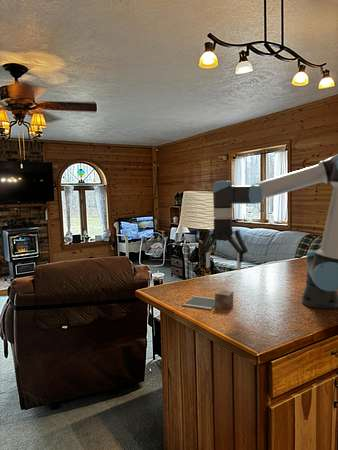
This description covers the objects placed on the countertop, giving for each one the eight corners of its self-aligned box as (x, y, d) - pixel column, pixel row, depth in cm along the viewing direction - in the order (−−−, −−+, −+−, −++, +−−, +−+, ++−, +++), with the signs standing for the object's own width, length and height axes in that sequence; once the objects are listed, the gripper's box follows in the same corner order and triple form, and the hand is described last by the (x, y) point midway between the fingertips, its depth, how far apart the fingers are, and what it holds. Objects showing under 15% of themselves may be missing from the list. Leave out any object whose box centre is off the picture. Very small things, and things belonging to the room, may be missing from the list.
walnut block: (233, 305, 144) (233, 291, 144) (228, 309, 139) (228, 295, 138) (219, 303, 147) (219, 290, 147) (215, 307, 142) (215, 293, 141)
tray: (221, 301, 150) (221, 299, 150) (210, 311, 139) (210, 308, 139) (194, 298, 156) (194, 296, 156) (182, 306, 145) (182, 304, 145)
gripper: (255, 217, 137) (255, 269, 139) (198, 217, 149) (199, 264, 151) (250, 219, 131) (250, 273, 133) (191, 218, 143) (192, 267, 145)
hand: (223, 268), depth 142 cm, fingers open, 13 cm apart
